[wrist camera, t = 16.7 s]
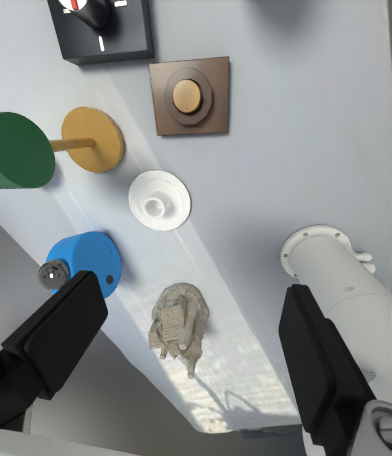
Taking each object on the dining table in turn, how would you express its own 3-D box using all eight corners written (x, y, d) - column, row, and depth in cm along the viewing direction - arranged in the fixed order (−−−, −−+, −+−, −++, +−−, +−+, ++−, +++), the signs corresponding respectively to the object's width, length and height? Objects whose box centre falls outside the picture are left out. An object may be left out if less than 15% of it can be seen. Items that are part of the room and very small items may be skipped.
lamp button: (200, 81, 26) (199, 78, 25) (201, 112, 28) (200, 111, 26) (174, 83, 27) (171, 80, 25) (176, 114, 28) (174, 113, 27)
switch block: (228, 60, 27) (229, 51, 24) (227, 132, 31) (227, 132, 28) (152, 67, 29) (143, 59, 26) (160, 135, 33) (153, 136, 30)
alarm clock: (79, 226, 43) (15, 270, 29) (103, 219, 41) (48, 263, 28) (108, 272, 48) (65, 328, 35) (130, 268, 47) (94, 324, 33)
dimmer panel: (144, -37, 24) (134, -58, 21) (154, 57, 28) (147, 50, 25) (55, -23, 26) (34, -41, 23) (77, 65, 30) (62, 58, 27)
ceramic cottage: (200, 281, 46) (187, 347, 33) (214, 326, 53) (207, 394, 40) (140, 285, 50) (108, 344, 37) (161, 326, 57) (140, 388, 44)
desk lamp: (116, 106, 31) (-53, 70, 12) (129, 170, 36) (21, 220, 16) (59, 110, 33) (-179, 83, 13) (78, 171, 37) (-79, 220, 18)
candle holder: (180, 236, 41) (176, 248, 37) (125, 217, 40) (115, 226, 37) (199, 183, 36) (196, 189, 32) (135, 159, 35) (125, 163, 31)
